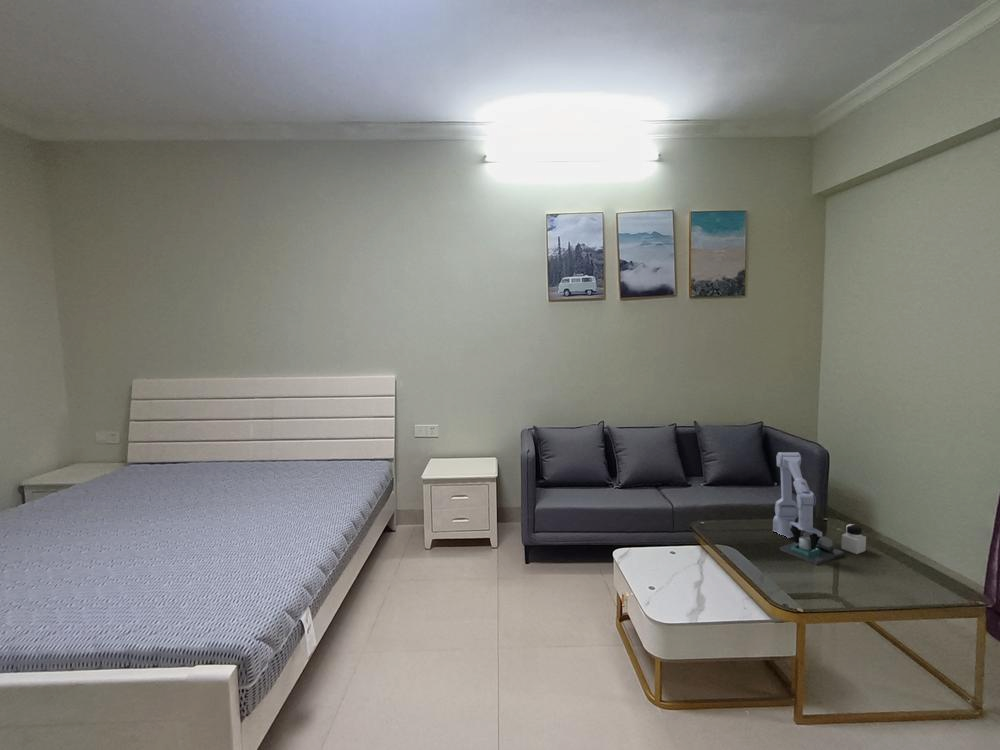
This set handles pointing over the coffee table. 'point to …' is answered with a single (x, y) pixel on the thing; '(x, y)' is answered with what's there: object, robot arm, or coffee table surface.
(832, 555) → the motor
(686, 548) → the coffee table surface
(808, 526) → the robot arm
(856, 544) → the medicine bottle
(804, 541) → the white rounded cylinder
